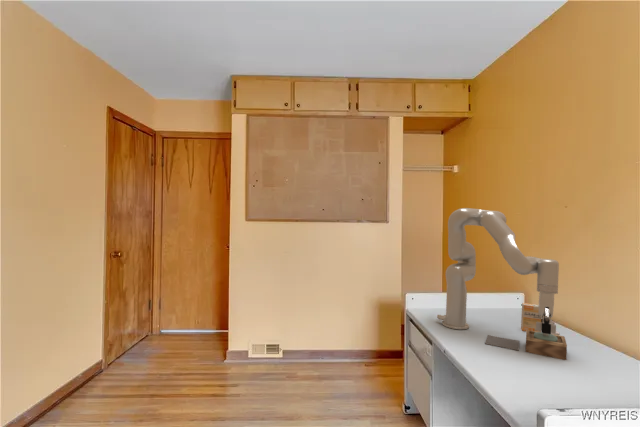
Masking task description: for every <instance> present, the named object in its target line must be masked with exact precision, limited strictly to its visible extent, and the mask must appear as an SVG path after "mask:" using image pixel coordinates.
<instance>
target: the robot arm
mask: <svg viewBox="0 0 640 427" xmlns="http://www.w3.org/2000/svg"><path fill="white" fill-rule="evenodd" d="M466 226H478V227H483V228H484V230H486V232H487V233H488V234H489V235H490V236H491V238H493V240H494V242H495V243H497V244H496V245H498V247H499V251H500V252H501V255H502V257H503V259H504V260H505V261H506V263H507V264H508V265H509V267H511V269H512V270H513V271H514V272H516V273H517V274H519V275H521V276H526V275H533V274H536V277H537V278H536V292H538V294H539V295H538V305H539V310H538V313H539V316H541V315H542V319H541V322H542V331H541V332H542V333H546V334H551V321H552V320H551V318H553V317H554V316H553V314H554V305H555V295H558V293H559V274H560V272H559V270H560V263H559V261H558V260H556V259H552V258H541V257H540V258H539V257H536V256H531V255H530V256H529V255H527V256H525V254H523V252H522V251H521V250H520V249H519V247H518V246H517V243H516V234H515V232H514V230H512V229H511V227H510V226H509V225H508V224H507V217H506V215H505V214H504V213H503V212H501V211H499V210H487V209H481V208H480V209H479V208H469V207H463V208H462V207H461V208H458V209H456V210H454V211H453V212H451V214H450V215H449V216H448V219H447V233H448V235H447V236H448V237H447V240H448V241H447V243H448V244H447V245H448V246H447V248H448V249H447V251H448V252H447V253H448V257H449V259H451V260H452V261H455V262H456V263H452V264H449V266H447V268H446V270H445V280H446V300H445V301H446V304H445V314H444V315H441V314H437V315H436V318H437V319H438V320H441V321H442V322H441V323H442V325H443V326H444V327H446V328H448V329H453V330H458V331H459V330H468V329H469V328H470V324H468V323H467V298H468V297H467V295H468V294H467V293H468V292H467V290H468V289H467V284H466V282H468V281H471V280H473V279H474V278H475V276H476V271H477V267H476V266H477V265H476V263H477V259H476V258H477V256H476V255H477V254H476V253H477V252H476V249H475V247H474V245H473V244H472V243H470V242H468V241H467V232H466V228H465V227H466Z"/></svg>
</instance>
